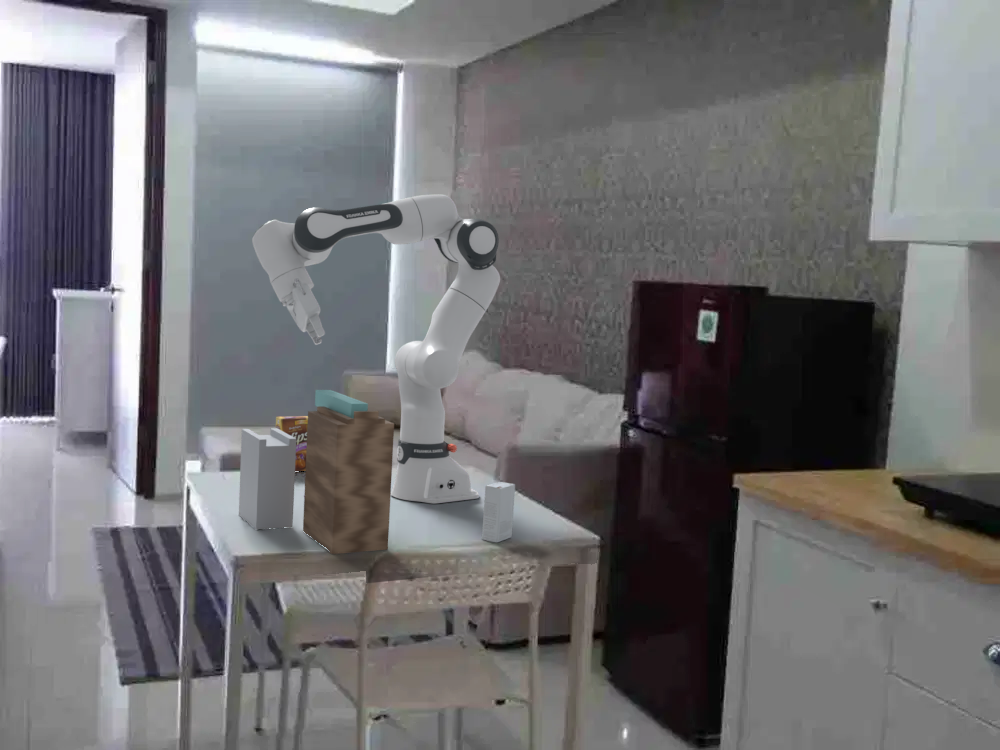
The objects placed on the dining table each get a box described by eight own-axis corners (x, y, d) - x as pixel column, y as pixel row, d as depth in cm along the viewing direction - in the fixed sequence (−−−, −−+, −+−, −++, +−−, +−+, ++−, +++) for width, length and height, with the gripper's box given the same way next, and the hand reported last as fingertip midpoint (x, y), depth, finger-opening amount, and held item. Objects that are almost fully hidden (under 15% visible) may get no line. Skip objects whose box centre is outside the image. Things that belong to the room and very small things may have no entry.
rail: (330, 405, 228) (330, 389, 228) (367, 420, 209) (367, 403, 209) (314, 405, 227) (315, 389, 226) (350, 421, 208) (351, 403, 207)
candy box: (278, 474, 278) (280, 418, 277) (272, 471, 282) (274, 415, 280) (309, 472, 283) (311, 417, 282) (303, 469, 287) (305, 415, 285)
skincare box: (495, 534, 228) (498, 480, 227) (512, 538, 226) (516, 483, 224) (480, 539, 223) (483, 484, 221) (498, 543, 220) (501, 487, 219)
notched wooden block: (355, 528, 226) (361, 399, 223) (387, 549, 211) (394, 411, 208) (302, 531, 220) (308, 399, 218) (331, 554, 205) (338, 411, 202)
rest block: (273, 512, 235) (276, 428, 234) (292, 527, 223) (296, 438, 221) (238, 514, 232) (241, 428, 230) (256, 530, 219) (259, 439, 217)
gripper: (308, 270, 232) (336, 324, 232) (303, 291, 252) (329, 342, 251) (283, 281, 230) (311, 336, 230) (280, 302, 250) (305, 353, 250)
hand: (320, 339), depth 241 cm, fingers open, 8 cm apart
